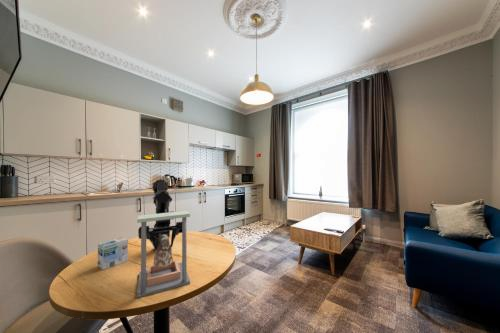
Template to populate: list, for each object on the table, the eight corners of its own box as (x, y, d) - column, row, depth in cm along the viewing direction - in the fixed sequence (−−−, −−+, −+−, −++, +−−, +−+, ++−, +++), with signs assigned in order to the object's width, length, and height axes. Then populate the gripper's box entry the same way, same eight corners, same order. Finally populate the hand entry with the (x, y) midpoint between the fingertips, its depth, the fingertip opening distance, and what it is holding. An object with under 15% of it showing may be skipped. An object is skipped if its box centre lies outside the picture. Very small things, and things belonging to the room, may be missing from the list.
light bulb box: (102, 270, 84) (103, 246, 85) (96, 266, 88) (97, 243, 88) (128, 260, 94) (128, 239, 94) (121, 257, 97) (122, 236, 98)
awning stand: (139, 274, 81) (140, 210, 82) (183, 264, 89) (183, 206, 90) (136, 298, 65) (137, 219, 66) (190, 283, 73) (190, 213, 74)
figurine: (159, 269, 73) (159, 238, 74) (150, 264, 78) (150, 235, 78) (175, 262, 79) (175, 233, 80) (166, 257, 83) (166, 230, 84)
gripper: (138, 207, 78) (136, 243, 68) (185, 203, 87) (189, 234, 77) (139, 222, 85) (137, 256, 75) (182, 217, 94) (186, 247, 84)
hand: (163, 248), depth 78 cm, fingers closed on figurine, 6 cm apart
